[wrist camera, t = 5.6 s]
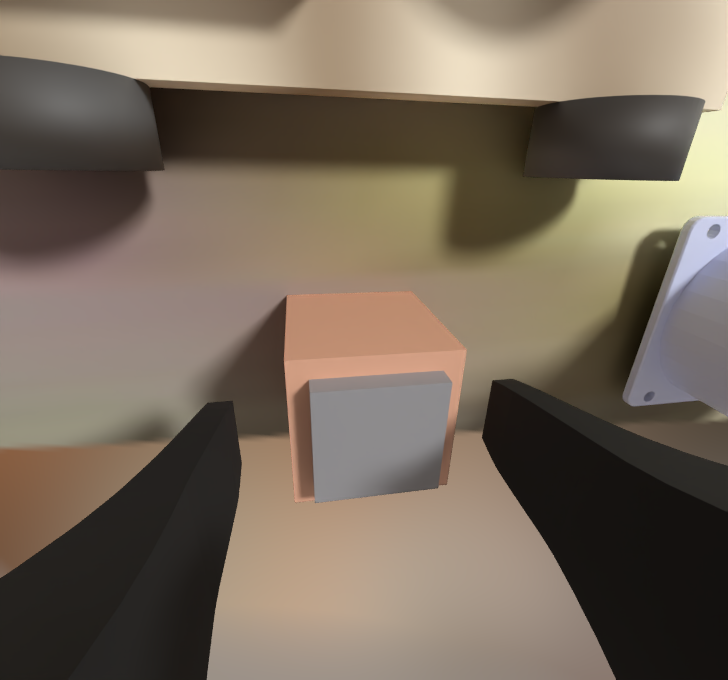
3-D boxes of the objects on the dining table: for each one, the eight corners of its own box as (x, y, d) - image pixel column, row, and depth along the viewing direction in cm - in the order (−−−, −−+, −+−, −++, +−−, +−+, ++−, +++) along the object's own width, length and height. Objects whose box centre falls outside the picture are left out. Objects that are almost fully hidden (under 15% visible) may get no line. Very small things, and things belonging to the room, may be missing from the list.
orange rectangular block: (411, 290, 14) (477, 360, 9) (403, 394, 16) (454, 500, 11) (286, 294, 13) (283, 373, 8) (294, 403, 15) (294, 520, 10)
